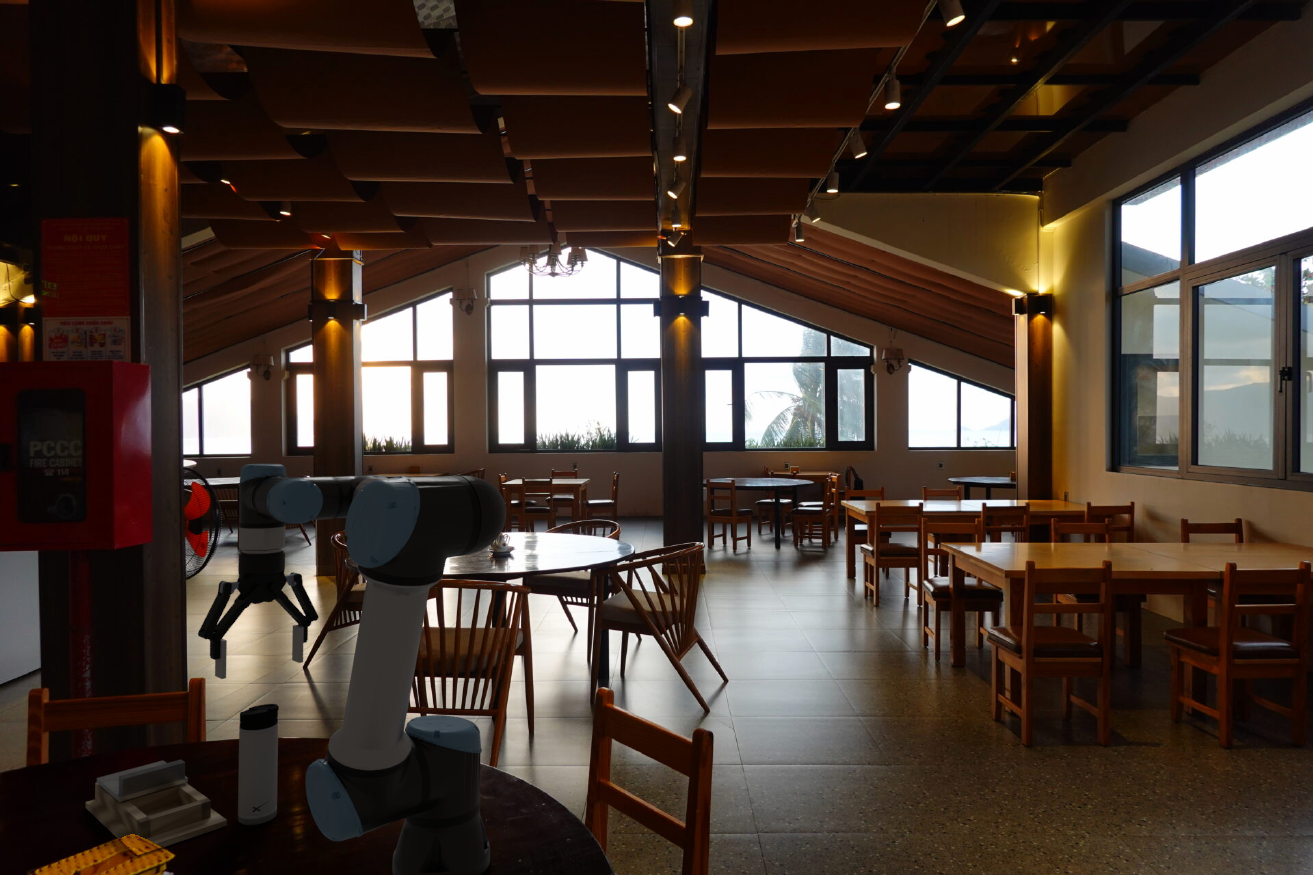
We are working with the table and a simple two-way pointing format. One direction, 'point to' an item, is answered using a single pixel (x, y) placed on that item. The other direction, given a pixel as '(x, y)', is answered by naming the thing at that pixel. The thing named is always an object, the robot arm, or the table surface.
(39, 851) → the table surface
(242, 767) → the travel mug
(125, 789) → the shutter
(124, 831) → the holder
